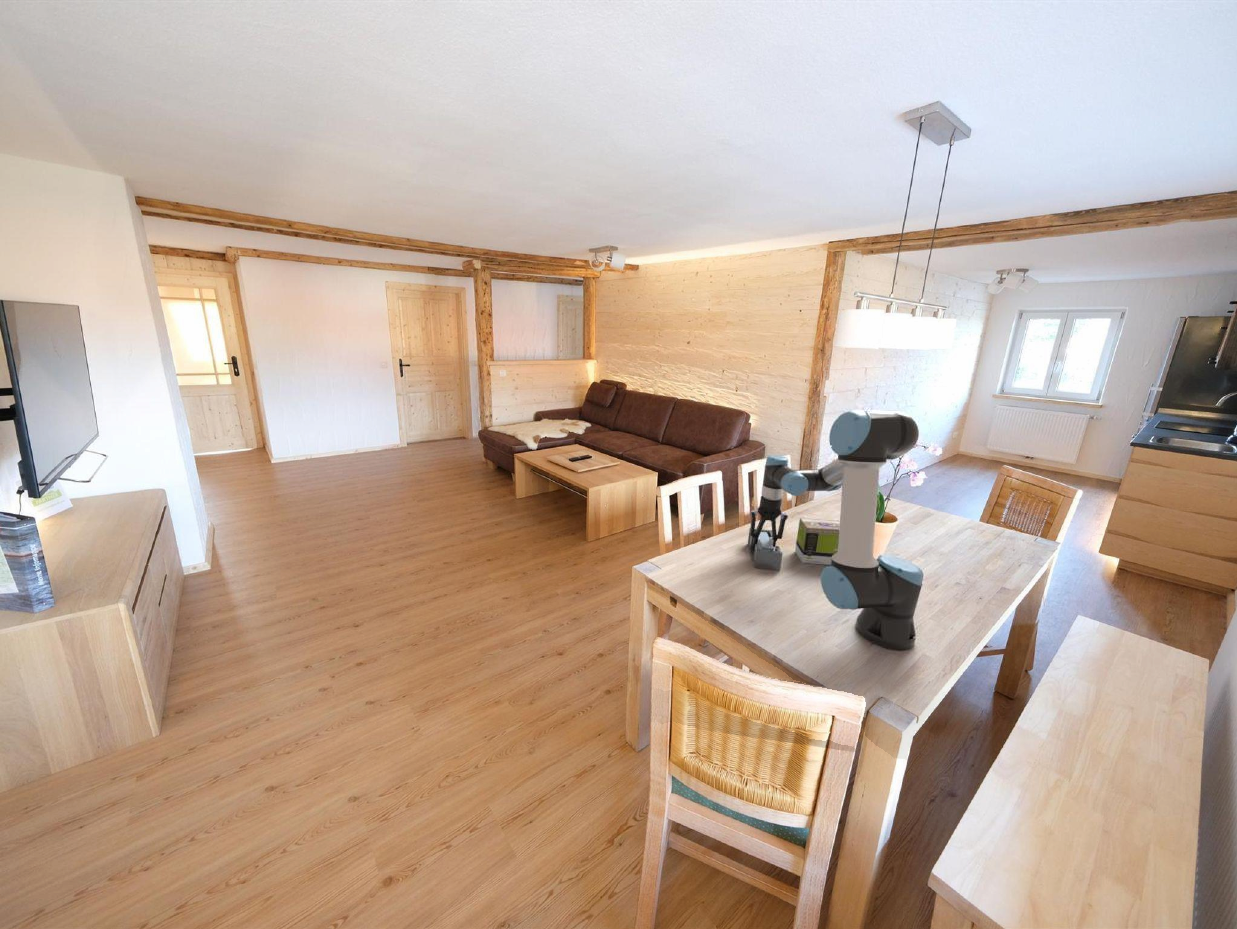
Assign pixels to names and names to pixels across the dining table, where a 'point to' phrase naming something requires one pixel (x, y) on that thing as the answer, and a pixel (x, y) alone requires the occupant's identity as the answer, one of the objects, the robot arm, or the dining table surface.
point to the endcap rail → (764, 554)
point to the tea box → (817, 540)
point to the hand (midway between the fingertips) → (763, 553)
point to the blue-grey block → (765, 542)
